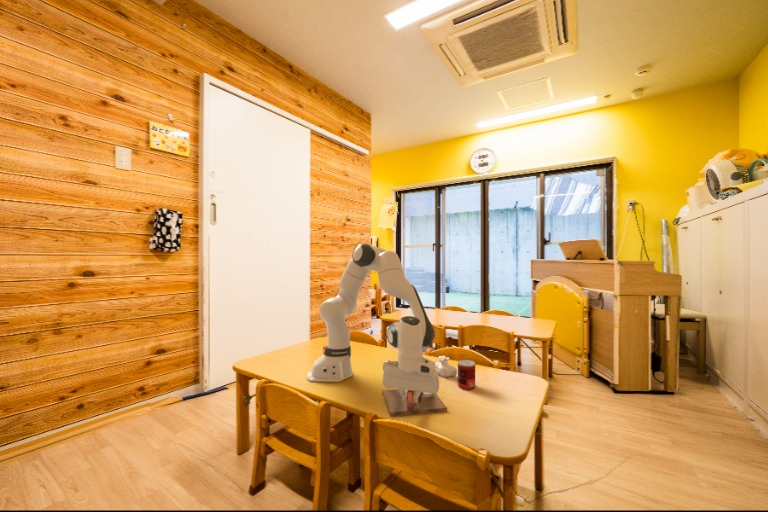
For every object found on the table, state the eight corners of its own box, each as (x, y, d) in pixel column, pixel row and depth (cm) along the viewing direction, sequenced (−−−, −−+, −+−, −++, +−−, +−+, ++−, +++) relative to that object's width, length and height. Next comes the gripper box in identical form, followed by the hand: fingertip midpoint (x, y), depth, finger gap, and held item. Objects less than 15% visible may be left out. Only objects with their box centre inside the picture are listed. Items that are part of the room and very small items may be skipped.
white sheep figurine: (434, 377, 156) (427, 363, 151) (440, 364, 161) (433, 351, 155) (456, 383, 148) (449, 368, 143) (461, 370, 153) (455, 355, 148)
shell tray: (408, 398, 124) (408, 392, 124) (403, 389, 133) (403, 383, 133) (432, 396, 126) (432, 391, 126) (425, 387, 135) (425, 382, 135)
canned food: (475, 384, 142) (475, 360, 142) (474, 391, 134) (474, 366, 134) (458, 382, 144) (458, 358, 144) (457, 389, 137) (456, 364, 137)
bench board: (390, 416, 113) (390, 406, 113) (382, 393, 132) (382, 385, 132) (446, 411, 117) (446, 401, 117) (431, 390, 135) (431, 381, 135)
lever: (417, 386, 131) (417, 369, 131) (426, 387, 129) (426, 370, 129) (404, 411, 109) (404, 391, 109) (415, 412, 108) (415, 392, 108)
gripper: (380, 362, 110) (380, 401, 110) (437, 369, 104) (437, 410, 104) (385, 357, 116) (385, 393, 116) (439, 363, 110) (439, 401, 110)
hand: (410, 401), depth 110 cm, fingers open, 3 cm apart
